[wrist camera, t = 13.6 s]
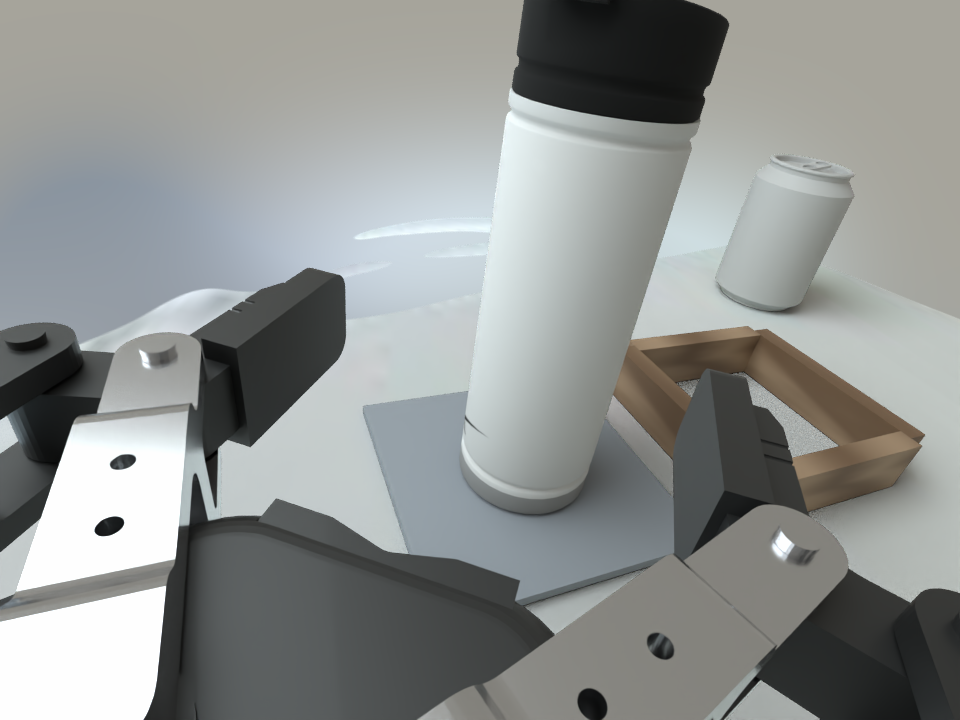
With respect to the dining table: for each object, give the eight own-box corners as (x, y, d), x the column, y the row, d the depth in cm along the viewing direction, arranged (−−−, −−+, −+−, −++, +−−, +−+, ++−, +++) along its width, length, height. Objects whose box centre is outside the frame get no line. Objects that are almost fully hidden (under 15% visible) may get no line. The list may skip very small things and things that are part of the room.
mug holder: (744, 360, 40) (760, 324, 38) (905, 482, 30) (936, 442, 29) (601, 381, 35) (612, 342, 34) (739, 532, 26) (765, 488, 24)
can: (695, 279, 52) (743, 147, 45) (756, 276, 54) (810, 151, 48) (751, 318, 46) (816, 174, 39) (816, 313, 48) (887, 176, 42)
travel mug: (428, 475, 26) (478, -45, 15) (502, 410, 31) (581, -19, 20) (542, 546, 23) (705, -21, 12) (603, 463, 28) (760, 2, 17)
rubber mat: (567, 383, 35) (569, 376, 34) (706, 548, 25) (710, 541, 25) (363, 413, 30) (363, 405, 30) (434, 632, 20) (435, 624, 20)
